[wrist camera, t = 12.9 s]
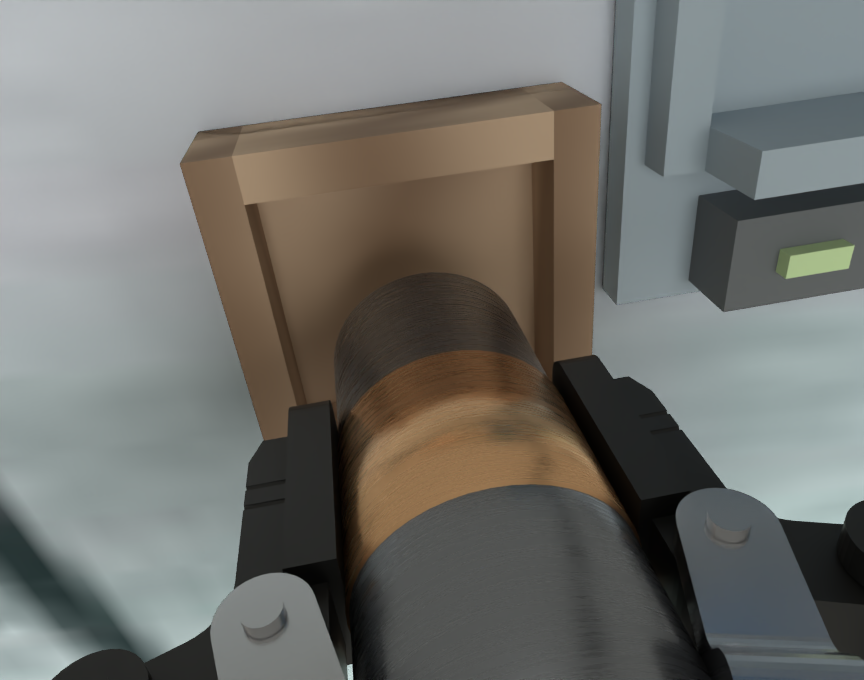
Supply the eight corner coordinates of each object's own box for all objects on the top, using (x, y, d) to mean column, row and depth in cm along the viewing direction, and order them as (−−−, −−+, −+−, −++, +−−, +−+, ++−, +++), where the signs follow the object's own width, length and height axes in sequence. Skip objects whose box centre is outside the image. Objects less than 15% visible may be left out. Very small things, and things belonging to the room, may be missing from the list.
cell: (520, 255, 13) (823, 703, 5) (524, 416, 15) (745, 899, 8) (313, 288, 13) (323, 817, 5) (348, 448, 15) (392, 988, 7)
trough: (561, 82, 16) (601, 103, 13) (559, 374, 20) (589, 426, 18) (198, 131, 15) (179, 163, 13) (280, 423, 19) (276, 482, 17)
